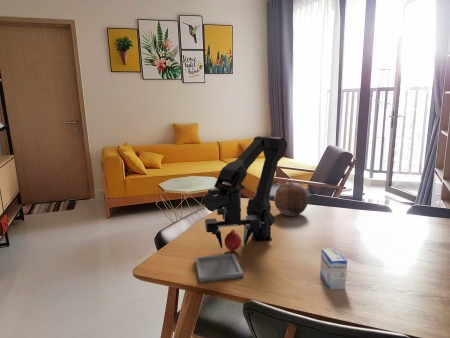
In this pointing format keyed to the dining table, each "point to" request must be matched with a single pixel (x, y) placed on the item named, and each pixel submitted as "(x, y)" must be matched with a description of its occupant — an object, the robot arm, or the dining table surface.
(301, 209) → the wooden sphere
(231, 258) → the dish
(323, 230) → the dining table surface
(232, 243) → the onion
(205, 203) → the robot arm
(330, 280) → the medicine box
